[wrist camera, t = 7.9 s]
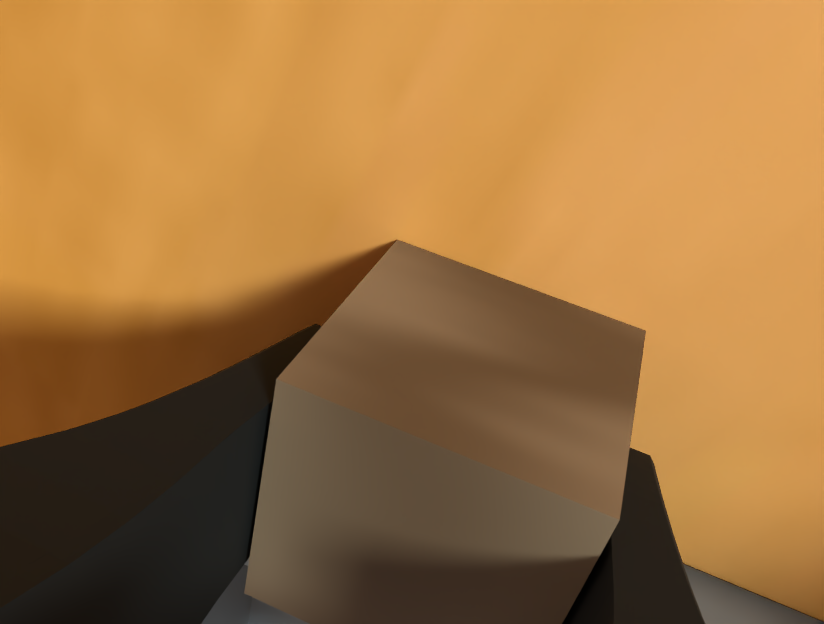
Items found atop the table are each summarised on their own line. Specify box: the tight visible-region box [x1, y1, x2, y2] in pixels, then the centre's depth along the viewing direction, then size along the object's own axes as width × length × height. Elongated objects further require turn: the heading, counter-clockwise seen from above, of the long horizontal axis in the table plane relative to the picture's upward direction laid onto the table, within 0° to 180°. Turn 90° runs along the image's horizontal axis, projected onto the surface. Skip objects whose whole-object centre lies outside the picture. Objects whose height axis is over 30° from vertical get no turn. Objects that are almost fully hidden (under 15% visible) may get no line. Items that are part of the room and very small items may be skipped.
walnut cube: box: [244, 240, 646, 624], centre depth 11 cm, size 4×4×4 cm
